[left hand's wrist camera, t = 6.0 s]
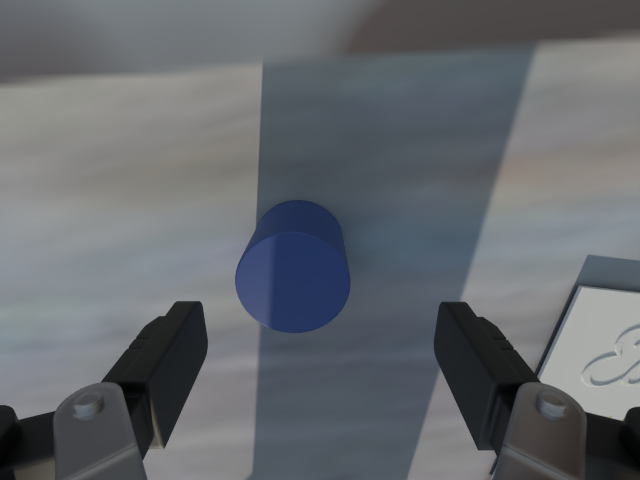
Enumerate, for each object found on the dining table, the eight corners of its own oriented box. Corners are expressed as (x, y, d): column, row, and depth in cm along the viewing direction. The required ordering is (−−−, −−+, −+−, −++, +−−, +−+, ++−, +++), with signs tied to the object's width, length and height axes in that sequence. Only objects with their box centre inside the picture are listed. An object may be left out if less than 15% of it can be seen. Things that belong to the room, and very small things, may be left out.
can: (252, 275, 17) (231, 326, 13) (258, 193, 15) (238, 223, 11) (335, 286, 17) (340, 339, 13) (349, 206, 15) (360, 240, 11)
